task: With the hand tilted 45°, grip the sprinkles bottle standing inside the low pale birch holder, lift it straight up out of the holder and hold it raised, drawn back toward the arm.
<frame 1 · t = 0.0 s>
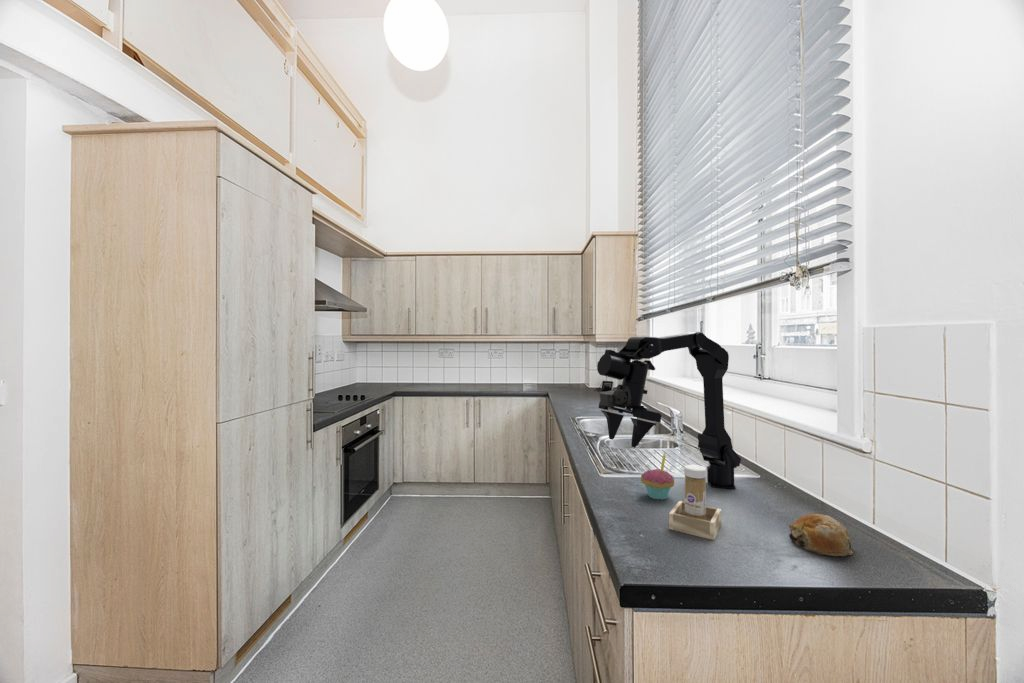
hand: (621, 443, 109), 15 cm above the worktop, tool pointing down, fingers open, 9 cm apart
sprinkles bottle: (695, 527, 95), resting in birch holder
birch holder: (695, 526, 95), on the worktop
bread roll: (819, 547, 86), on the worktop
cupcake: (657, 497, 113), on the worktop
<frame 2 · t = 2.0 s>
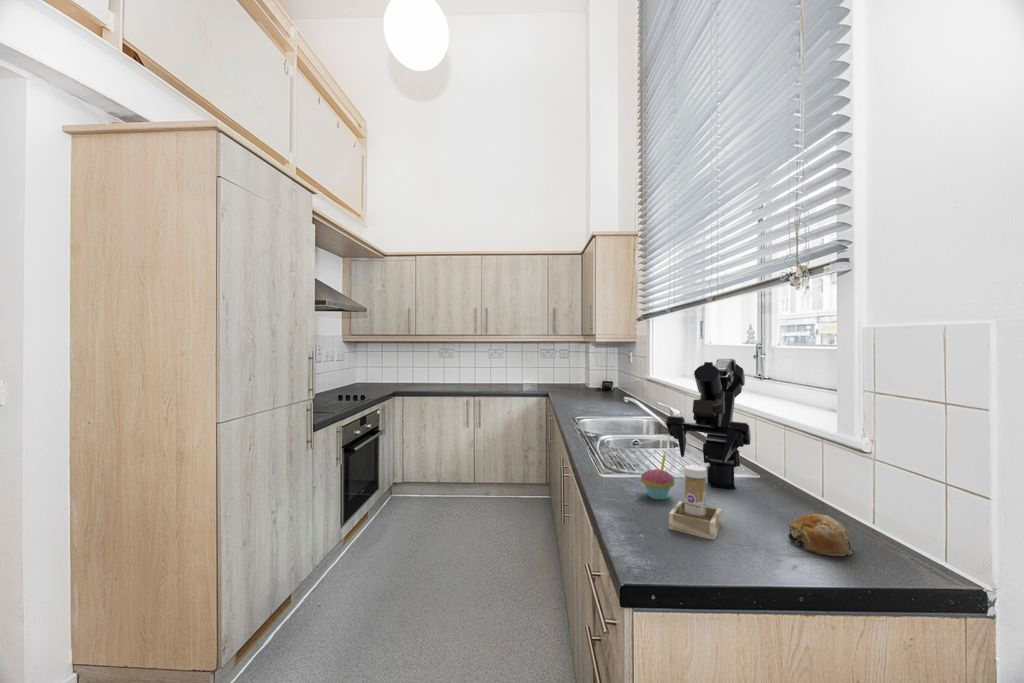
hand: (702, 459, 101), 13 cm above the worktop, tool tilted 45°, fingers open, 9 cm apart
nothing on the worktop moved.
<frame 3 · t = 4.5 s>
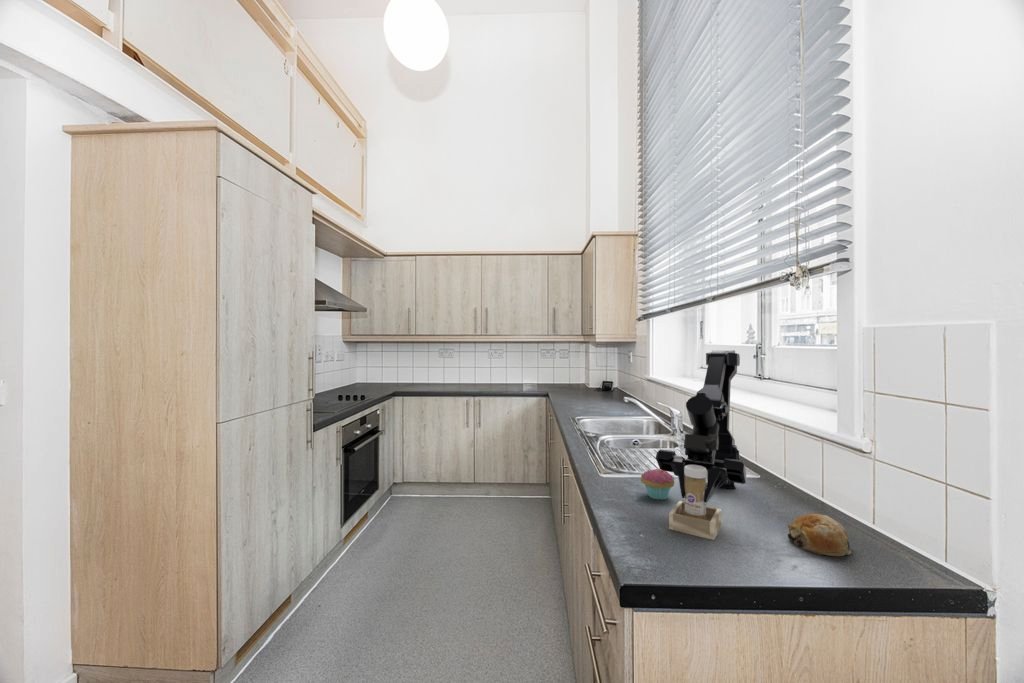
hand: (693, 499, 94), 7 cm above the worktop, tool tilted 45°, fingers closed on sprinkles bottle, 4 cm apart
sprinkles bottle: (695, 527, 95), resting in birch holder, touching gripper
everything else where it was.
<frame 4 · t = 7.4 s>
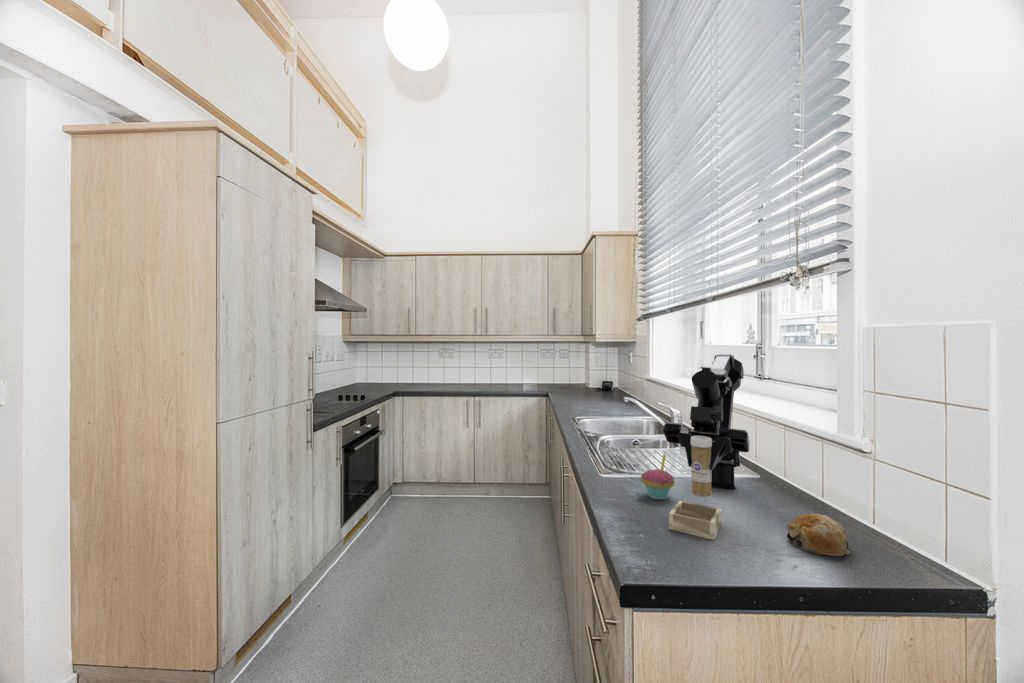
hand: (700, 467, 99), 12 cm above the worktop, tool tilted 45°, fingers closed on sprinkles bottle, 4 cm apart
sprinkles bottle: (701, 494, 100), point 5 cm above the worktop, touching gripper
everything else where it was.
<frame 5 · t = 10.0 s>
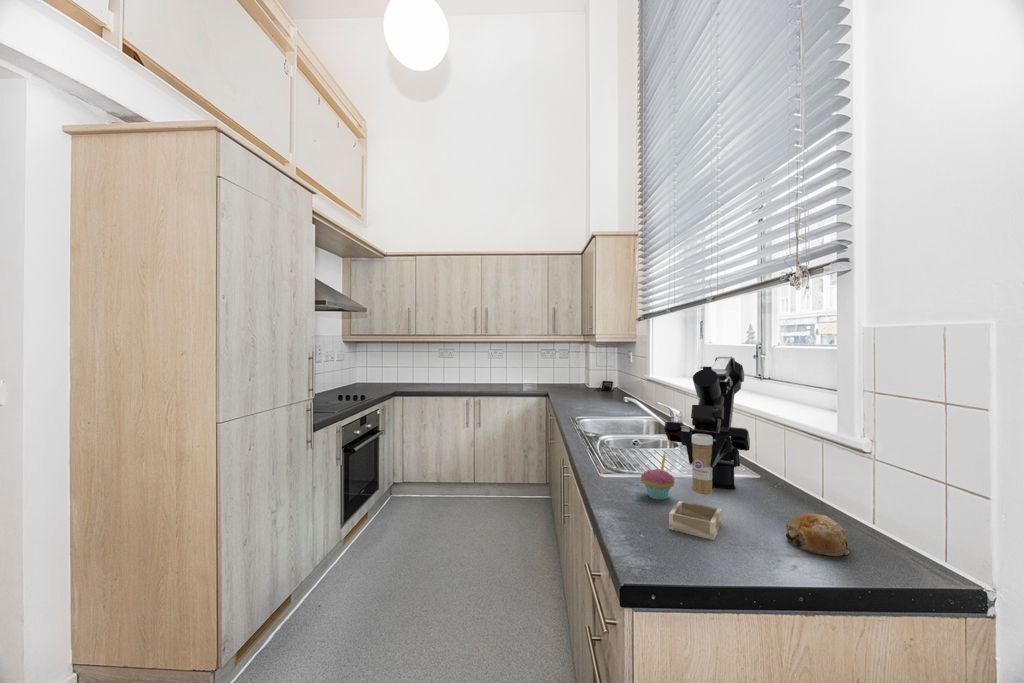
hand: (700, 465, 100), 12 cm above the worktop, tool tilted 45°, fingers closed on sprinkles bottle, 4 cm apart
sprinkles bottle: (702, 492, 101), point 6 cm above the worktop, touching gripper
everything else where it was.
at the end: the gripper is holding sprinkles bottle; sprinkles bottle point 5.5 cm above the worktop; sprinkles bottle moved 9.3 cm from its start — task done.
